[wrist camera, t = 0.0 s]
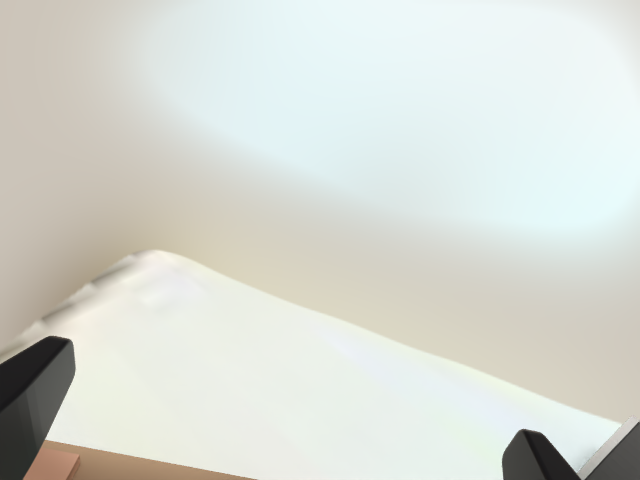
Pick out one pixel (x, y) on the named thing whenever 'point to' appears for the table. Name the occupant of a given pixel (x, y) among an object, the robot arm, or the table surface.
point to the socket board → (108, 466)
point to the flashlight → (616, 455)
